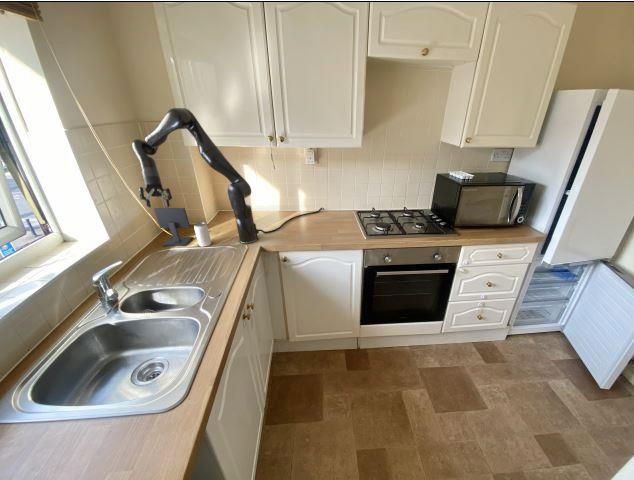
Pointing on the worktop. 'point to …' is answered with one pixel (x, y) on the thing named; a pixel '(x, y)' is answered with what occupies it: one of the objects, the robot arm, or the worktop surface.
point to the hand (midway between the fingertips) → (158, 207)
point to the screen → (172, 217)
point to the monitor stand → (176, 237)
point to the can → (202, 234)
